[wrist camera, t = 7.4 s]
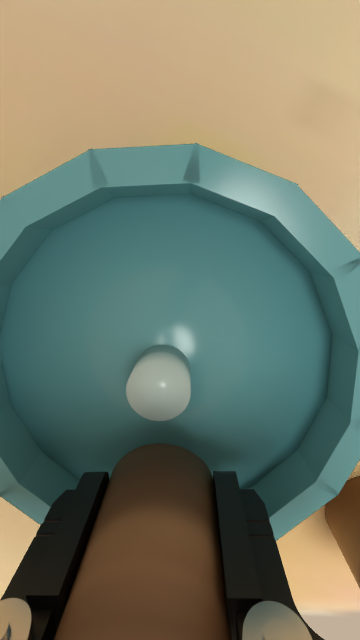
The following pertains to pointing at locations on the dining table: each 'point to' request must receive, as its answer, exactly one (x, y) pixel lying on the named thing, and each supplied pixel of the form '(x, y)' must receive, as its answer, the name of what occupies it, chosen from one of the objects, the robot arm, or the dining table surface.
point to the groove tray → (176, 327)
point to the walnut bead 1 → (151, 555)
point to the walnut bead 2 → (347, 523)
